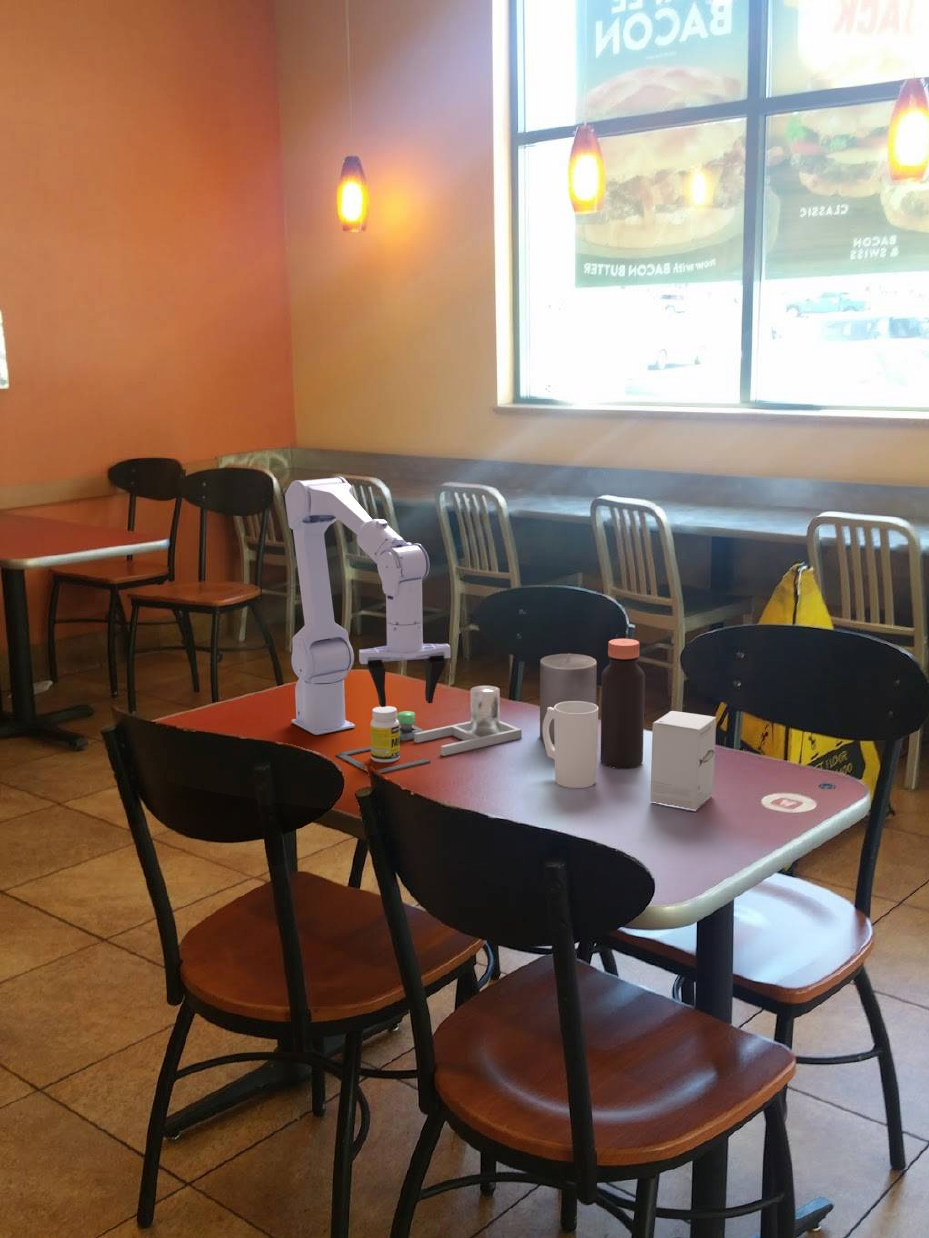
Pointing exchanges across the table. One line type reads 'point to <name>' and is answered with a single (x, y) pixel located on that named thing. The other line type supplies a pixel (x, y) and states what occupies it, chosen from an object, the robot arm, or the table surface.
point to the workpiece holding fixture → (468, 737)
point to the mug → (573, 742)
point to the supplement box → (683, 759)
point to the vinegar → (622, 706)
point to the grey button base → (408, 733)
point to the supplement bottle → (385, 734)
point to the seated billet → (485, 710)
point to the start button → (406, 720)
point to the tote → (346, 757)
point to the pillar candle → (565, 683)
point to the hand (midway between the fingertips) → (405, 703)
